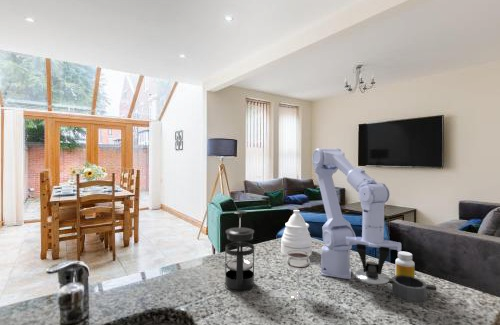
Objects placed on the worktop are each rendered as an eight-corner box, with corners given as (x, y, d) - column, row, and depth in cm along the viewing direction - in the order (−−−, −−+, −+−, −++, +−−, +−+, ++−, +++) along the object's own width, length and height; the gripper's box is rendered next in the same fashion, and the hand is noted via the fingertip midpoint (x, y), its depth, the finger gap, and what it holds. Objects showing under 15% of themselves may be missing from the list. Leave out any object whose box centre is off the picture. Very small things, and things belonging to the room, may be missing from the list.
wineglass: (290, 287, 84) (290, 248, 84) (312, 292, 81) (312, 252, 81) (282, 297, 78) (283, 255, 78) (306, 303, 75) (306, 259, 75)
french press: (225, 277, 91) (225, 208, 91) (253, 277, 91) (254, 208, 91) (223, 295, 79) (223, 215, 79) (255, 294, 80) (256, 215, 79)
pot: (384, 297, 78) (385, 283, 78) (382, 284, 86) (382, 272, 86) (439, 307, 74) (439, 292, 73) (431, 292, 82) (431, 279, 81)
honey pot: (311, 258, 108) (312, 213, 108) (279, 255, 111) (279, 211, 111) (312, 248, 121) (312, 207, 121) (282, 245, 124) (283, 206, 124)
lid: (356, 282, 77) (356, 267, 77) (354, 270, 85) (354, 257, 85) (392, 287, 74) (392, 271, 74) (386, 273, 83) (386, 260, 83)
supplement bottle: (417, 288, 84) (417, 256, 84) (398, 286, 85) (398, 255, 85) (410, 280, 89) (411, 251, 89) (392, 279, 91) (393, 249, 90)
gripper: (345, 225, 78) (345, 272, 79) (403, 231, 73) (402, 281, 73) (346, 220, 85) (345, 264, 85) (399, 225, 80) (398, 271, 80)
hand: (371, 271), depth 80 cm, fingers closed on lid, 3 cm apart
